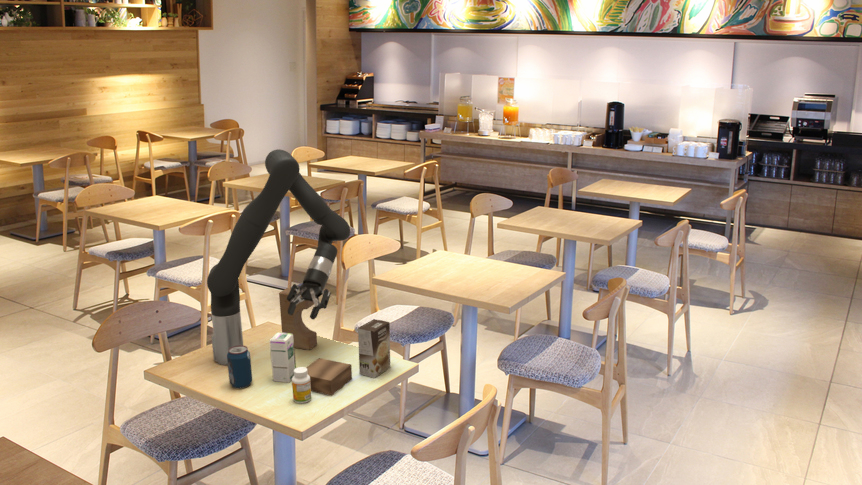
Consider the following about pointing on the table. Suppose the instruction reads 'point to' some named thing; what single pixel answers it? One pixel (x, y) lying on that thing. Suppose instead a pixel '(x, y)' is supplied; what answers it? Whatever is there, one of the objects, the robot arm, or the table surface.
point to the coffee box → (374, 348)
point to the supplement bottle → (301, 385)
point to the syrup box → (282, 357)
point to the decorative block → (296, 322)
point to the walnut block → (328, 375)
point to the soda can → (239, 367)
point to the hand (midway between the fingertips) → (300, 316)
